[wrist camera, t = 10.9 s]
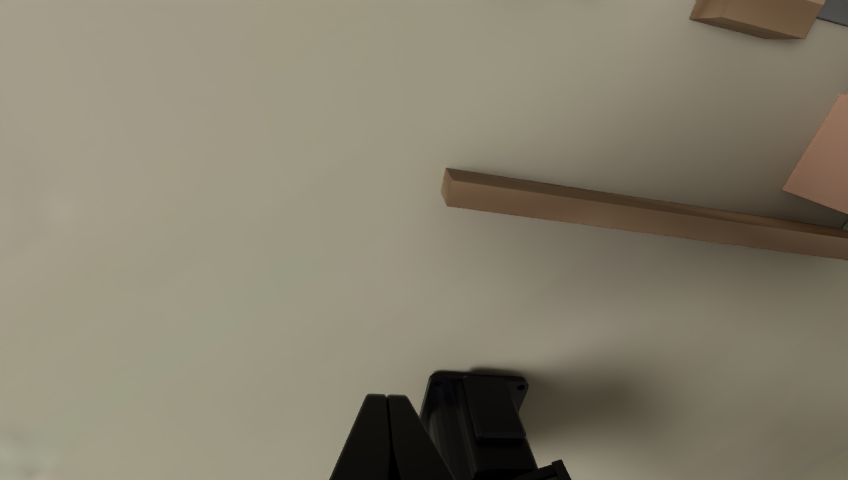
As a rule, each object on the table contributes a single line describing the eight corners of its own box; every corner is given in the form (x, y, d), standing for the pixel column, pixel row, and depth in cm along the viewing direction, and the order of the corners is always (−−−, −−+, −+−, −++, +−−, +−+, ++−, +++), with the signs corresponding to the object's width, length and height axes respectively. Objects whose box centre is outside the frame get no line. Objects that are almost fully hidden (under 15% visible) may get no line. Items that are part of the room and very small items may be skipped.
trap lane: (844, 248, 24) (892, 270, 22) (440, 191, 19) (449, 212, 17) (1077, -66, 17) (1183, -82, 15) (542, -274, 12) (579, -343, 10)
